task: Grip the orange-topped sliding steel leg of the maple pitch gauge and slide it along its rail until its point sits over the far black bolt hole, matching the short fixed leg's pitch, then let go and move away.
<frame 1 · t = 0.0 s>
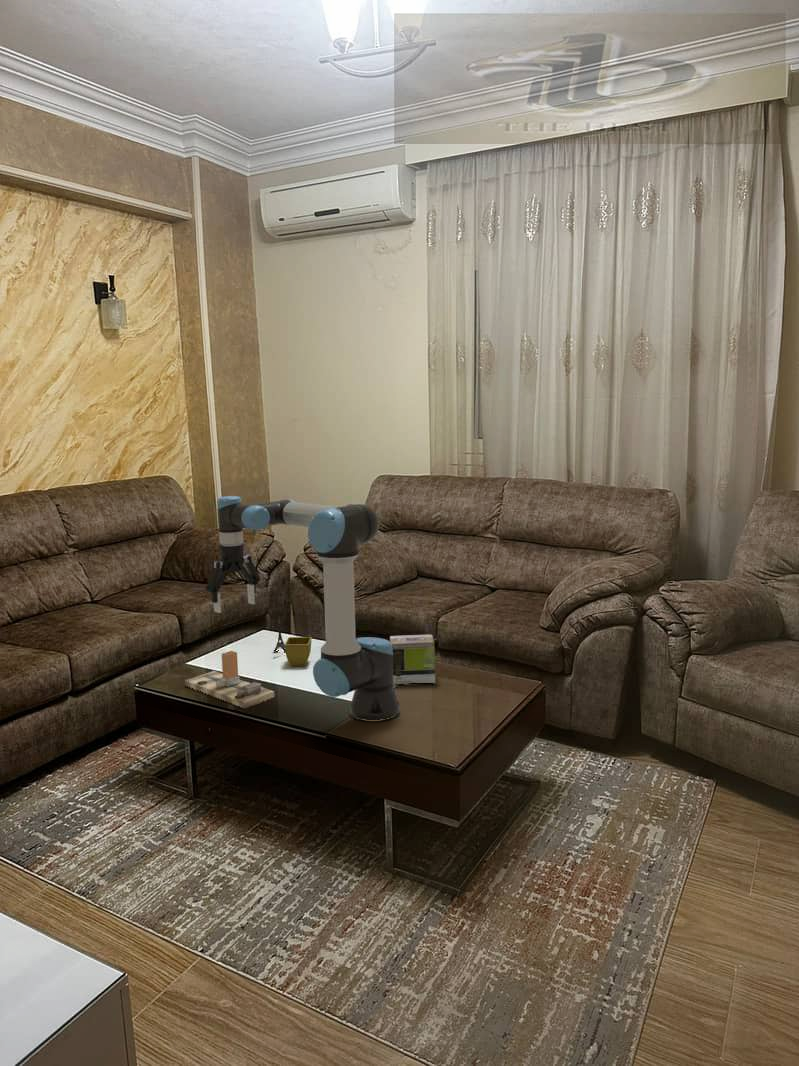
hand: (234, 607, 253), 28 cm above the table, tool pointing down, fingers open, 13 cm apart
tea box: (412, 680, 264), on the table
gauge board: (228, 691, 256), on the table
eiffel tower figurine: (281, 653, 297), on the table
flower pot: (299, 664, 282), on the table
slide leg: (226, 669, 254), point 8 cm above the table, slide at 11.0 cm
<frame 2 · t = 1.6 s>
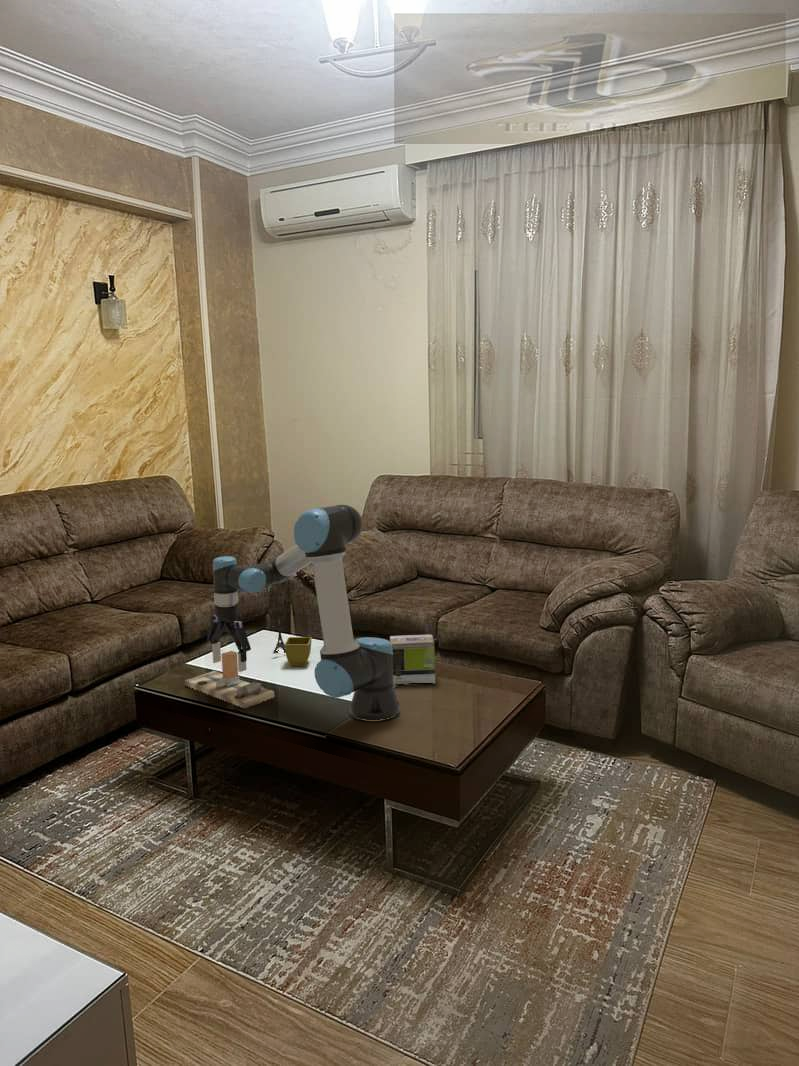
hand: (229, 666, 255), 8 cm above the table, tool pointing down, fingers open, 13 cm apart
nothing on the table moved.
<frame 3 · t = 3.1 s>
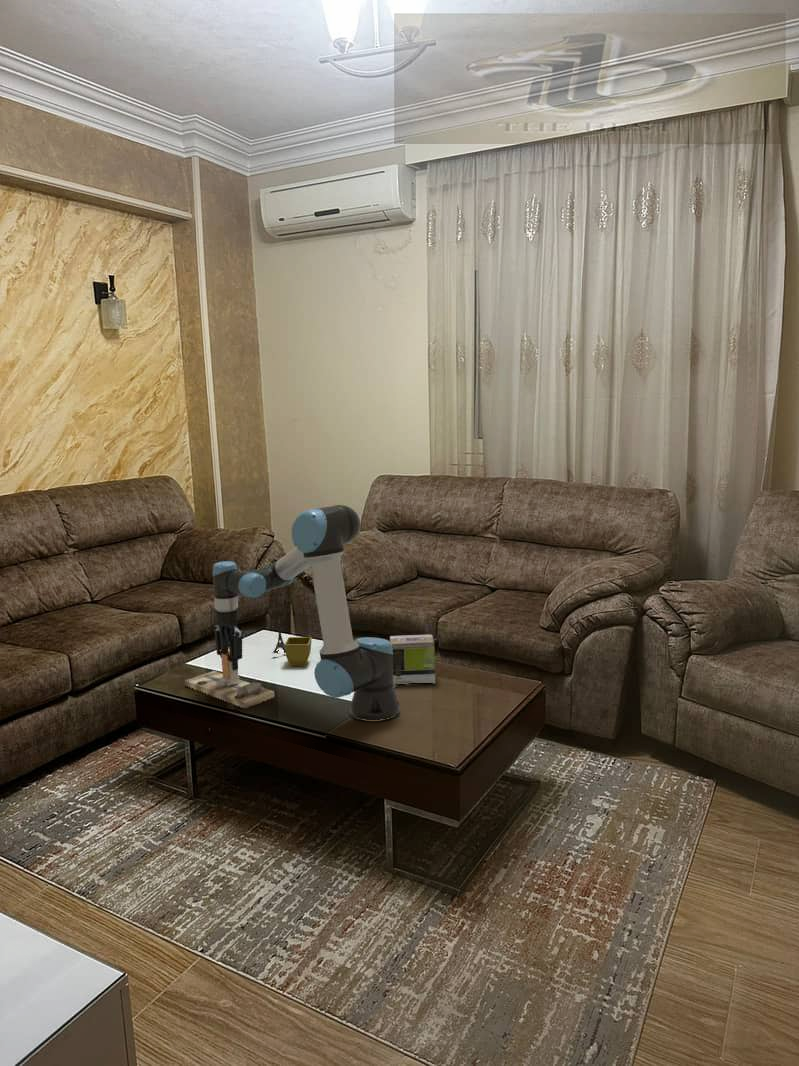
hand: (230, 677, 256), 5 cm above the table, tool pointing down, fingers closed on slide leg, 3 cm apart
slide leg: (226, 669, 254), point 8 cm above the table, slide at 11.0 cm, touching gripper
everything else where it was.
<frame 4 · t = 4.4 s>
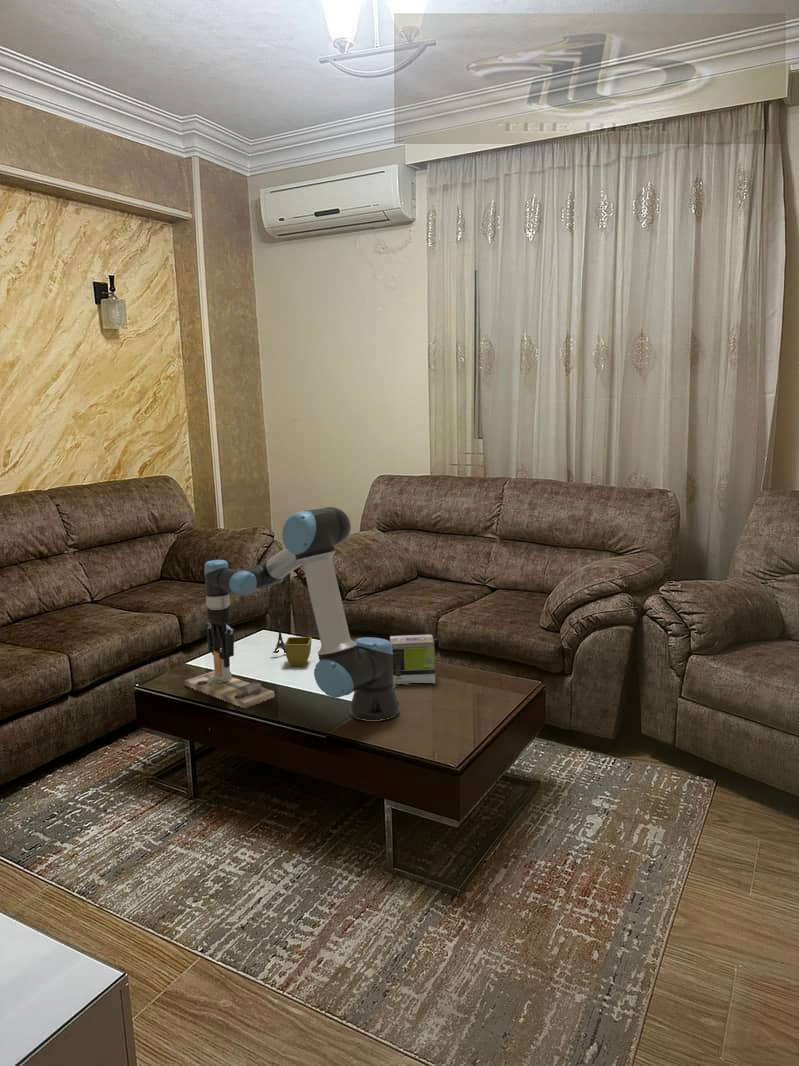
hand: (222, 674, 259), 5 cm above the table, tool pointing down, fingers closed on slide leg, 3 cm apart
slide leg: (218, 666, 257), point 8 cm above the table, slide at 15.4 cm, touching gripper
everything else where it was.
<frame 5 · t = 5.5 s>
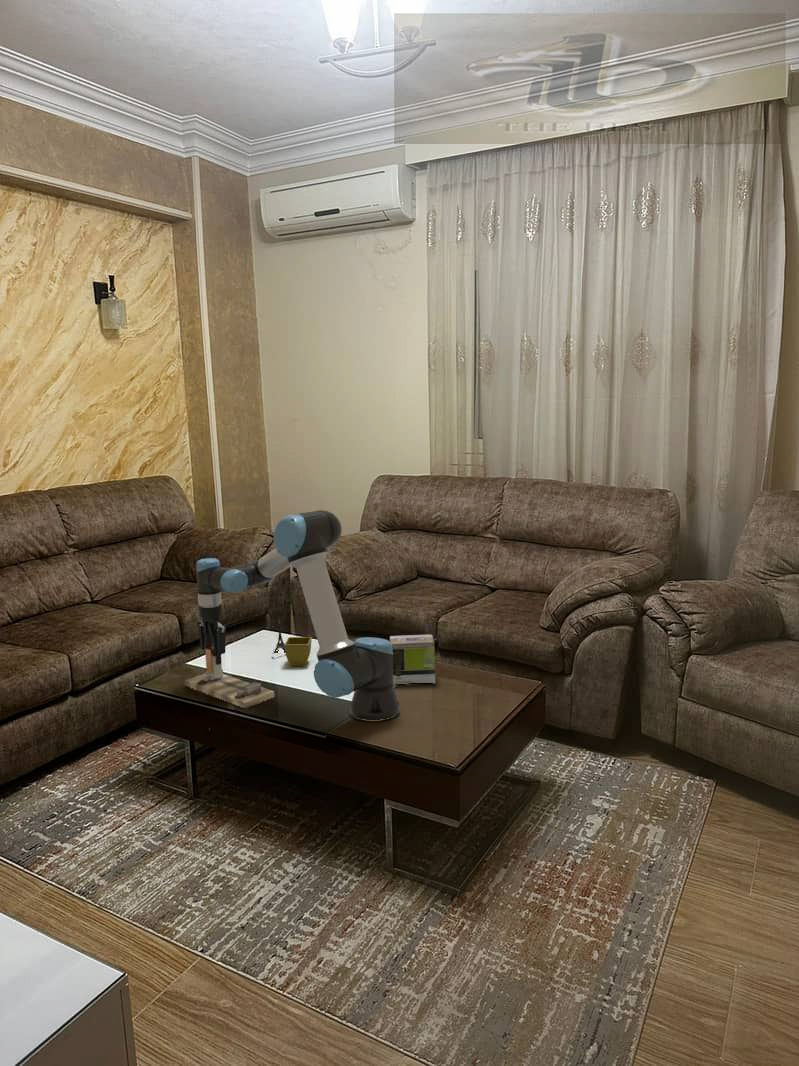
hand: (214, 671, 262), 5 cm above the table, tool pointing down, fingers closed on slide leg, 3 cm apart
slide leg: (209, 664, 260), point 8 cm above the table, slide at 19.9 cm, touching gripper
everything else where it was.
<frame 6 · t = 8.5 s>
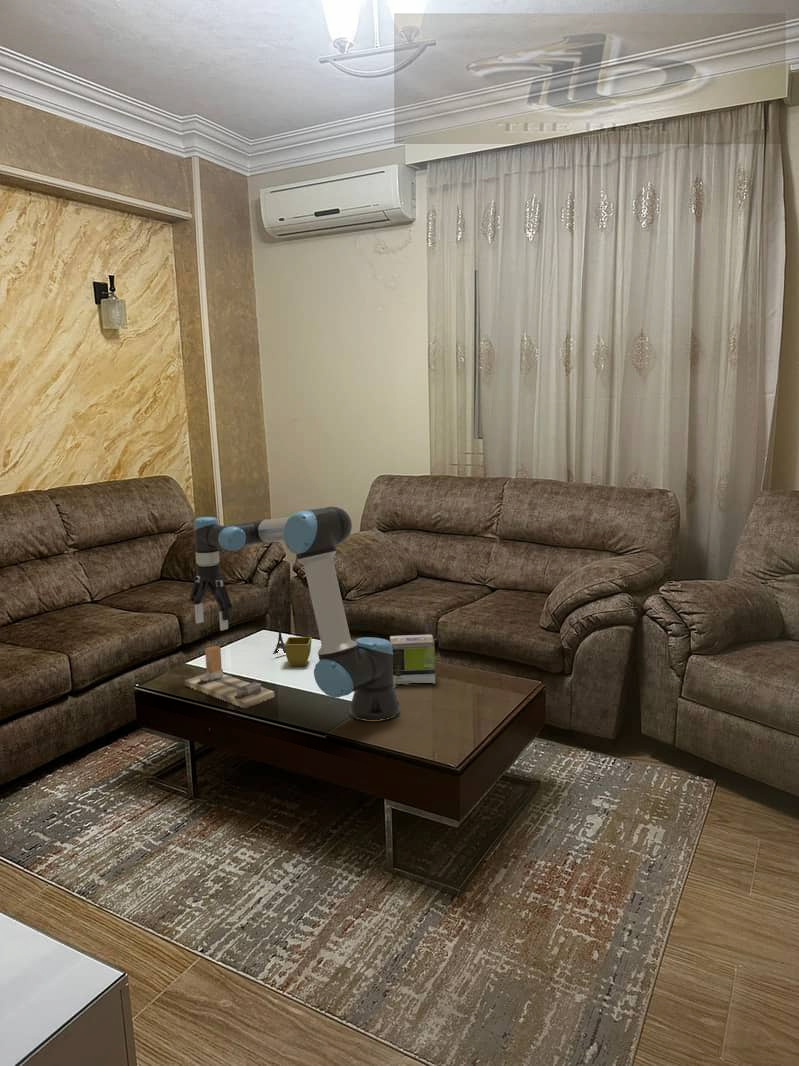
hand: (211, 626, 259), 21 cm above the table, tool pointing down, fingers open, 13 cm apart
slide leg: (209, 664, 260), point 8 cm above the table, slide at 20.0 cm
everything else where it was.
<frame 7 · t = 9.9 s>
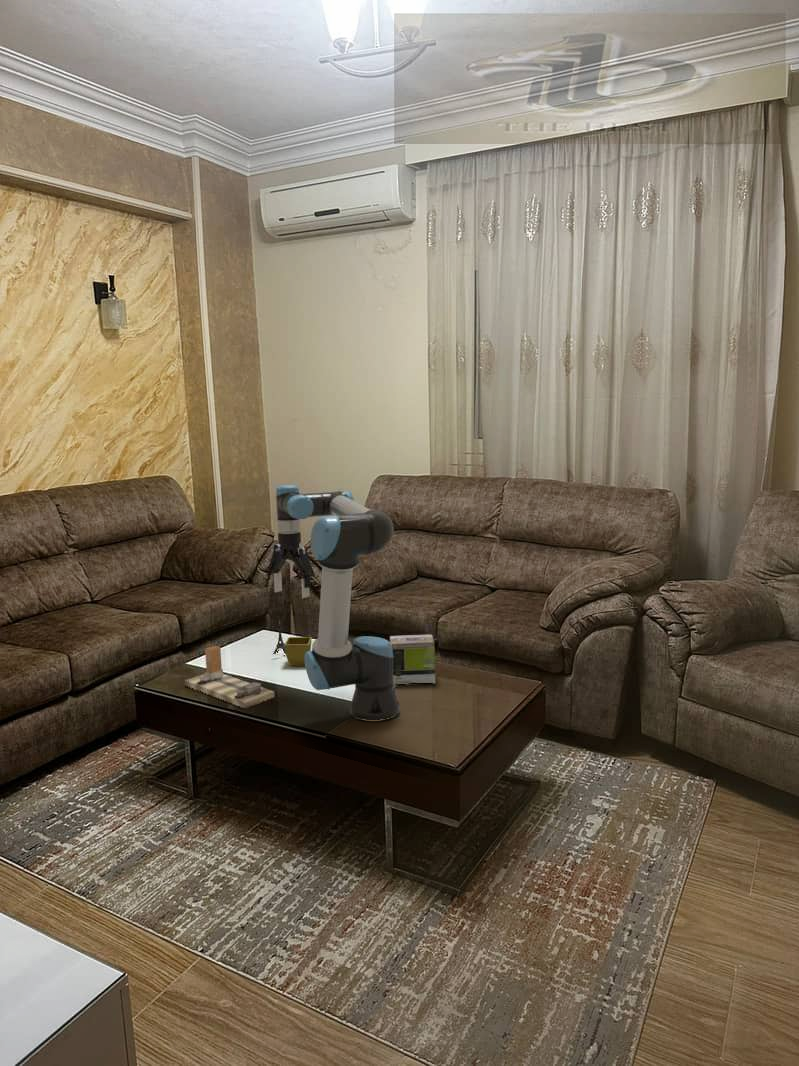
hand: (291, 594, 260), 30 cm above the table, tool pointing down, fingers open, 13 cm apart
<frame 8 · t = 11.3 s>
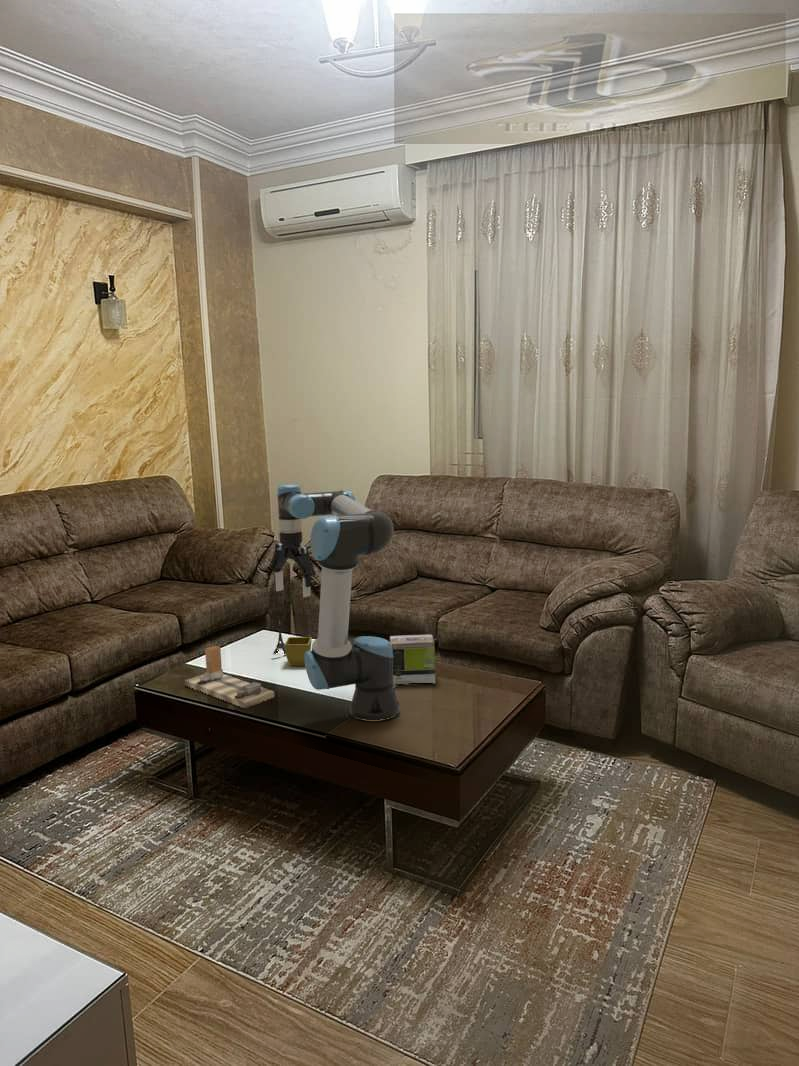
hand: (293, 593, 260), 31 cm above the table, tool pointing down, fingers open, 13 cm apart
at the end: slide leg slide at 20.0 cm; the gripper is holding nothing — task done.
